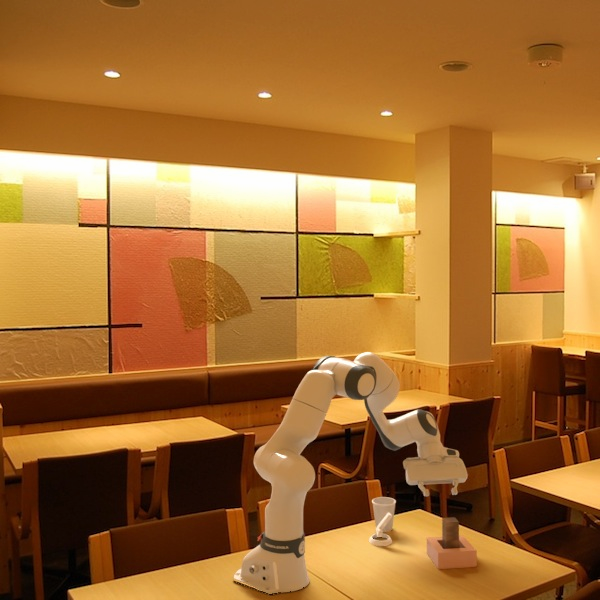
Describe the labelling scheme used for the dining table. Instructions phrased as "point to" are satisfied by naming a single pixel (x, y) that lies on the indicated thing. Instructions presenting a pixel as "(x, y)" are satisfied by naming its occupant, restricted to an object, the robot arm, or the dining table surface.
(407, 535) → the dining table surface
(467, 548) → the terracotta well
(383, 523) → the white lever
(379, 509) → the dixie cup
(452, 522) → the walnut block
